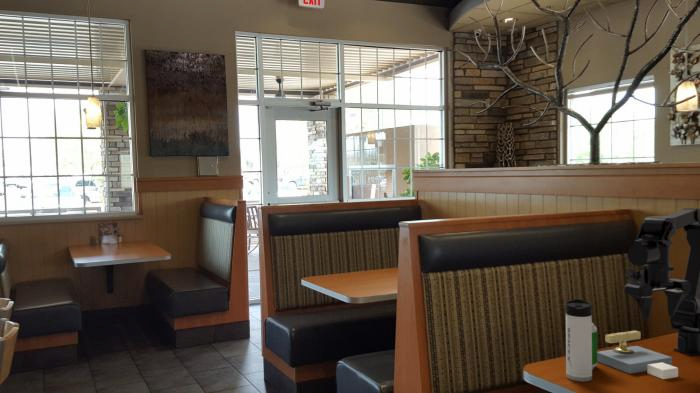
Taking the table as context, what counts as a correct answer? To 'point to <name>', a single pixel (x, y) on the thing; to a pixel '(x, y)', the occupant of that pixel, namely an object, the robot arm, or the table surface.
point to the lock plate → (632, 359)
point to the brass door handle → (623, 339)
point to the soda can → (594, 346)
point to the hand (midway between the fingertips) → (658, 318)
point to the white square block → (662, 370)
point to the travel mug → (578, 340)
